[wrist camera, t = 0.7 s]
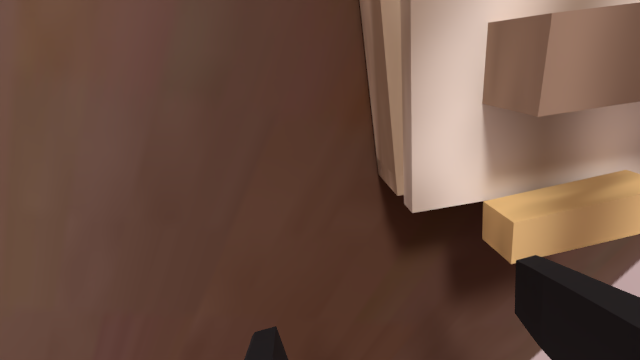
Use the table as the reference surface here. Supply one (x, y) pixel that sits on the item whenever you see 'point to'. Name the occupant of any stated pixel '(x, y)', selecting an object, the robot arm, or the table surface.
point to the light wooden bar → (563, 216)
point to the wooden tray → (385, 85)
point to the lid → (516, 96)
